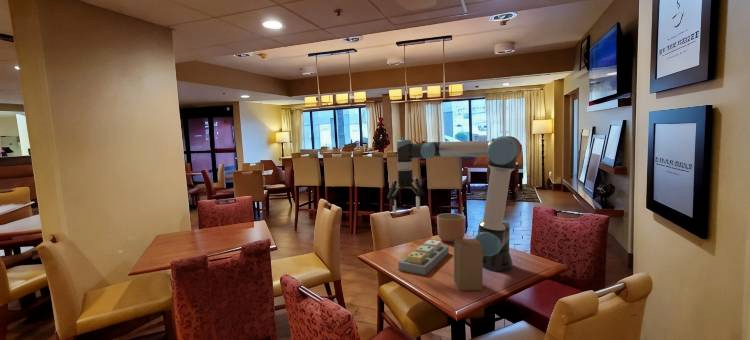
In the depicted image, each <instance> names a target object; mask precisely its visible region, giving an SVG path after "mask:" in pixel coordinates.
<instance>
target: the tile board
mask: <svg viewBox="0 0 750 340" xmlns="http://www.w3.org/2000/svg"><path fill="white" fill-rule="evenodd" d="M422 245H423V246H424V243H422ZM412 252H416V249H414V250H413V251H412ZM447 255H449V245H442V244H441V249H440V250H439V251H435V250H434V255H433V256H432V257H426V262H425V263H423V264H422V265H420V264H415V263H409V262H407V255H405V257H404V258H401V260H399V261H398V271H400V272H401V271H402V272H407V273H412V274H417V275H422V276H426V275H427V274H428V273H429V272H431V270H433V269H434V267H436V266H437V265H438V264H439V263H440V262H441V261H442V260H443V259H444V258H446V256H447ZM436 264H437V265H436Z"/></svg>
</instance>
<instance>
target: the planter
mask: <svg viewBox="0 0 750 340" xmlns="http://www.w3.org/2000/svg"><path fill="white" fill-rule="evenodd" d="M466 218H467V217H466V215H464V214H461V213H454V212H451V213H448V212H446V213H440V214H437V216H436V225H437V235H438V237H439V239H441V241H443V242H445V243H448V244H449V243H451V244H454V241H455V240H456V239H465V234H466Z"/></svg>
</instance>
